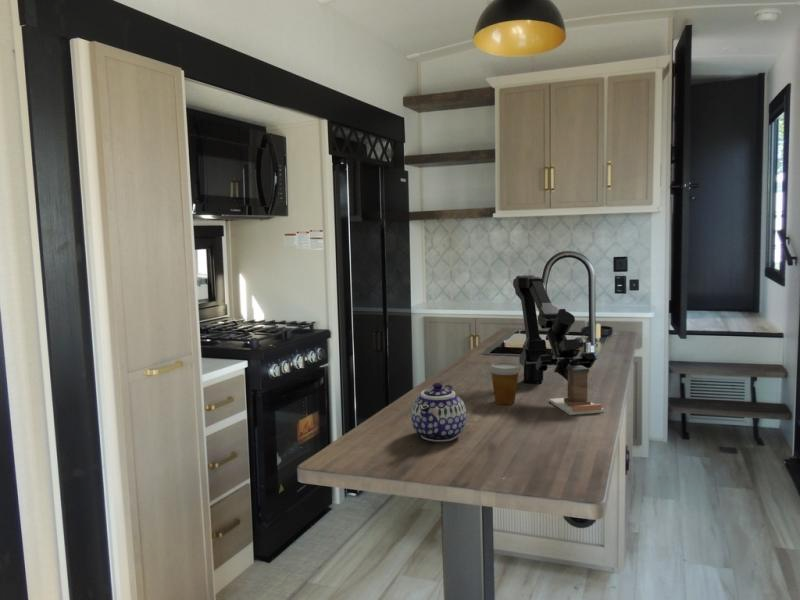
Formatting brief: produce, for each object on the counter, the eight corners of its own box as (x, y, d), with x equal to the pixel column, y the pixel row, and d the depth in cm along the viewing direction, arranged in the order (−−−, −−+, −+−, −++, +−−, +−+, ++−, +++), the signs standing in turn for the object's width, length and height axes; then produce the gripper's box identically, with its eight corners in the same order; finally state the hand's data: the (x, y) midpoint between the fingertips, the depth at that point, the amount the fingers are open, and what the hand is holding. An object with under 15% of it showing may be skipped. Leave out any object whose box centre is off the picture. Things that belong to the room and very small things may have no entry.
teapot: (430, 420, 197) (430, 371, 195) (479, 426, 190) (479, 375, 189) (394, 446, 174) (393, 390, 172) (448, 453, 168) (448, 396, 166)
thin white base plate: (549, 401, 215) (549, 394, 214) (581, 399, 217) (581, 392, 216) (570, 415, 200) (570, 406, 199) (604, 412, 202) (604, 404, 202)
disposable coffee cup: (523, 399, 218) (523, 363, 216) (515, 407, 209) (515, 369, 208) (494, 397, 222) (494, 361, 220) (486, 404, 213) (486, 367, 212)
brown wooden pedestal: (563, 401, 210) (564, 366, 208) (581, 400, 211) (582, 365, 210) (572, 406, 204) (572, 370, 203) (590, 405, 205) (591, 369, 204)
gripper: (539, 330, 211) (553, 371, 201) (594, 327, 214) (610, 368, 205) (529, 350, 219) (542, 391, 210) (582, 347, 223) (597, 387, 213)
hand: (573, 384), depth 209 cm, fingers closed, pressing on brown wooden pedestal
